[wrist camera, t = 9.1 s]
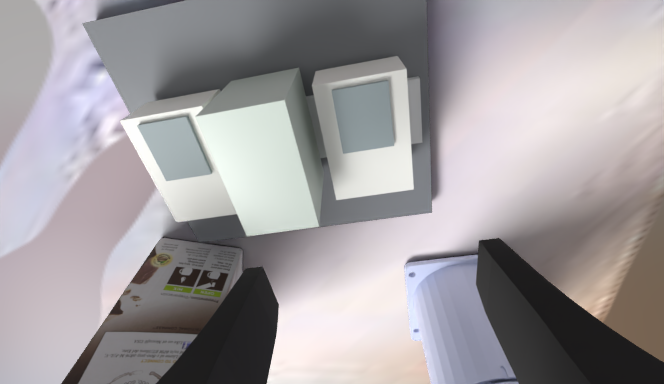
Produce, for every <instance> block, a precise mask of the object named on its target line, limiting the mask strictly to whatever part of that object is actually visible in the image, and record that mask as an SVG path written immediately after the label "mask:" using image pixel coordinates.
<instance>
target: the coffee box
mask: <svg viewBox="0 0 664 384" xmlns="http://www.w3.org/2000/svg"><path fill="white" fill-rule="evenodd" d="M242 259H243V251H242V249H239V248H233V247H226V246H218V245H212V244H204V243H197V242H190V241H183V240H176V239H169V238H162V239H160V240H159V241H158V243H157V244H156V246H155V247H154V249H153V250H152V252H151V253H150V255H149V256H148V257H147V259H146V260H145V262H144V263H143V265H142V266H141V268H140V269H139V271H138V272H137V274H136V275H135V276H134V278H133V279H132V281H131V282H130V284H129V285H128V286H127V288H126V289H125V291H124V292H123V294H122V295H121V297H120V298H119V300H118V301H117V303H116V304H115V306H114V307H113V309H112V310H111V312H110V313H109V315H108V316H107V318H106V319H105V320H104V322H103V323H102V325H101V326H100V328H99V329H98V331H97V332H96V334H95V335H94V337H93V338H92V340H91V341H90V343H89V344H88V346H87V347H86V349H85V350H84V352H83V353H82V354H81V356H80V357H79V359H78V360H77V362H76V363H75V365H74V366H73V368H72V369H71V371H70V372H69V373H68V375H67V376H66V378H65V379H64V381H63V382H62V384H156V383H157V382H158V381H159V380H160V379H161V377H162V376H163V375H164V374H165V373H166V372H167V371H168V370H169V369H170V368H171V366H172V365H173V364H174V363H175V362H176V361H177V360H178V358H179V357H180V356H181V355H182V354H183V352H184V351H185V350H186V349H187V348H188V346H189V345H190V344H191V343H192V341H193V340H194V339H195V338H196V336H197V335H198V334H199V333H200V331H201V330H202V329H203V327H204V326H205V325H206V323H207V322H208V321H209V319H210V318H211V317H212V315H213V314H214V313H215V311H216V310H217V308H218V307H219V306H220V304H221V303H222V302H223V300H224V299H225V297H226V296H227V294H228V293H229V292H230V290H231V289H232V287H233V286H234V284H235V283H236V282H237V280H238V279H239V277H240V276H241V275H242Z"/></svg>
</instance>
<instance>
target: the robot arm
mask: <svg viewBox="0 0 664 384" xmlns="http://www.w3.org/2000/svg"><path fill="white" fill-rule="evenodd" d="M404 270H405V281H406V292H407V302H408V313H409V324H410V335H411V339H413V340H415V341H418V340H422V345H423V350H424V354H425V359H426V363H427V368H428V372H429V377H430V381H431V384H664V362H662V361H660V360H659V359H657V358H655V357H654V356H652V355H650V354H649V353H647V352H646V351H644V350H642V349H641V348H639V347H638V346H636V345H635V344H633V343H632V342H630V341H629V340H627V339H626V338H624V337H622V336H621V335H620V334H618V333H617V332H615V331H613V330H612V329H611V328H609V327H608V326H606V325H605V324H604V323H602V322H601V321H599V320H598V319H597V318H595V317H594V316H592V315H591V314H590V313H588V312H587V311H586V310H584V309H583V308H582V307H580V306H579V305H578V304H576V303H575V302H574V301H573V300H571V299H570V298H569V297H567V296H566V295H565V294H564V293H562V292H561V291H560V290H559V289H557V288H556V287H555V286H554V285H553V284H551V283H550V282H549V281H548V280H546V279H545V278H544V277H543V276H542V275H540V274H539V273H538V272H537V271H536V270H535V269H533V268H532V267H531V266H530V265H529V264H528V263H527V262H525V261H524V260H523V259H522V258H521V257H520V256H519V255H518V254H516V253H515V252H514V251H513V250H512V249H511V248H510V247H509V246H508V245H506V244H505V243H504V242H503V241H502V240H501V239H499V238H497V239H489V240H480V241H479V248H478V255H469V256H460V257H451V258H442V259H434V260H425V261H416V262H409V263H407V264H406V265H405V266H404ZM412 272H413V273H412ZM278 307H279V304H278V302H277V300H276V297H275V295H274V293H273V290H272V288H271V285H270V283H269V281H268V278H267V276H266V273H265V271H264V269H263V267H255V268H247V269H245V270H244V272H243V273H242V275H241V276H240V277H239V279H238V280H237V282H236V283H235V284H234V286H233V287H232V289H231V290H230V292H229V293H228V294H227V296H226V297H225V299H224V300H223V302H222V303H221V304H220V306H219V307H218V308H217V310H216V311H215V313H214V314H213V315H212V317H211V318H210V319H209V321H208V322H207V323H206V325H205V326H204V327H203V329H202V330H201V331H200V333H199V334H198V335H197V336H196V338H195V339H194V340H193V341H192V343H191V344H190V345H189V346H188V348H187V349H186V350H185V351H184V352H183V354H182V355H181V356H180V357H179V358H178V360H177V361H176V362H175V363H174V364H173V365H172V366H171V368H170V369H169V370H168V371H167V372H166V373H165V374H164V375H163V376H162V377H161V379H160V380H159V381H158V382H157V383H156V384H266V383H267V378H268V374H269V369H270V364H271V359H272V354H273V349H274V344H275V339H276V332H277V322H278Z"/></svg>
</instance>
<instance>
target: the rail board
mask: <svg viewBox="0 0 664 384" xmlns="http://www.w3.org/2000/svg"><path fill="white" fill-rule="evenodd" d="M82 24H83V26H84V28H85V30H86V31H87V33H88V35H89V37H90V39H91V41H92V43H93V45H94V47H95V48H96V50H97V52H98V54H99V56H100V58H101V60H102V62H103V63H104V65H105V67H106V69H107V71H108V73H109V75H110V77H111V78H112V80H113V82H114V84H115V86H116V88H117V90H118V92H119V94H120V95H121V97H122V99H123V101H124V103H125V105H126V107H127V109H128V110H129V112H130V114H129V115H128V116H126V117H125V118H123V119H122V120H120V122H121V124H122V125H123V127H124V129H125V131H126V133H127V134H128V136H129V138H130V140H131V142H132V143H133V145H134V147H135V149H136V151H137V152H138V154H139V156H140V157H141V160H142V161H143V163H144V165H145V167H146V169H147V170H148V172H149V174H150V176H151V177H152V179H153V181H154V183H155V185H156V187H157V188H158V190H159V192H160V194H161V196H162V197H163V199H164V201H165V203H166V205H167V206H168V208H169V210H170V212H171V214H172V215H173V217H174V219H175V221H176V222H183V221H188V223H189V225H190V227H191V229H192V231H193V233H194V235H195V237H196V238H197V240H198V242H199V243H201V242H209V241H217V240H224V239H232V238H240V237H247V236H246V233H245V231H244V229H243V226H242V224H241V222H240V219H239V217H238V215H237V213H236V210H235V208H234V206H233V203H232V201H231V199H230V196H229V194H228V192H227V189H226V187H225V185H224V183H223V180H222V178H221V176H220V173H219V171H218V169H217V166H216V164H215V162H214V159H213V157H212V155H211V153H210V150H209V148H208V146H207V143H206V141H205V139H204V136H203V134H202V132H201V130H200V127H199V125H198V123H197V120H196V118H195V116H196V115H197V114H198V113H199V112H200V111H201V110H202V109H203V108H204V107H205V106H206V105H207V104H208V103H209V102H211V101H212V100H213V99H214V98H215V97H216V96H217V95H218V94H219V93H220V92H221V91H222V90H223V89H224V88H225V87H226V86H227V85H228V84H229V83H230V82H231V81H234V80H239V79H244V78H249V77H254V76H259V75H264V74H269V73H274V72H279V71H284V70H289V69H294V68H299V70H300V74H301V78H302V82H303V87H304V91H305V95H306V99H307V103H308V108H309V112H310V116H311V120H312V125H313V129H314V133H315V137H316V141H317V146H318V150H319V154H320V158H321V163H322V167H323V171H324V176H323V188H322V200H321V212H320V224H319V227H324V226H332V225H340V224H347V223H355V222H363V221H370V220H378V219H386V218H394V217H401V216H409V215H417V214H424V213H432V194H431V155H430V117H429V78H428V39H427V1H426V0H185V1H181V2H176V3H172V4H167V5H163V6H158V7H154V8H149V9H145V10H140V11H136V12H131V13H127V14H122V15H118V16H113V17H109V18H104V19H100V20H95V21H91V22H86V23H82ZM313 228H317V227H313ZM306 229H309V228H306ZM299 230H301V229H299ZM291 231H294V230H291ZM284 232H286V231H284ZM277 233H278V232H277ZM269 234H270V233H269ZM262 235H263V234H262Z"/></svg>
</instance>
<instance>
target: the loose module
mask: <svg viewBox="0 0 664 384" xmlns="http://www.w3.org/2000/svg"><path fill="white" fill-rule="evenodd" d="M195 118H196V120H197V123H198V125H199V127H200V130H201V132H202V134H203V136H204V139H205V141H206V143H207V146H208V148H209V150H210V153H211V155H212V157H213V159H214V162H215V164H216V166H217V169H218V171H219V173H220V176H221V178H222V180H223V183H224V185H225V187H226V189H227V192H228V194H229V196H230V199H231V201H232V203H233V206H234V208H235V210H236V213H237V215H238V217H239V219H240V222H241V224H242V226H243V229H244V231H245V233H246V236H247V237H248V236H255V235H262V234H269V233H277V232H284V231H291V230H299V229H306V228H313V227H319V224H320V212H321V200H322V188H323V176H324V171H323V167H322V163H321V158H320V154H319V150H318V146H317V141H316V137H315V133H314V129H313V125H312V120H311V116H310V112H309V108H308V103H307V99H306V95H305V91H304V87H303V82H302V78H301V74H300V70H299V68H294V69H289V70H284V71H279V72H274V73H269V74H264V75H259V76H254V77H249V78H244V79H239V80H234V81H231V82H230V83H229V84H228V85H227V86H226V87H225V88H224V89H223V90H222V91H221V92H220V93H219V94H218V95H217V96H216V97H215V98H214V99H213V100H212V101H211V102H209V103H208V104H207V105H206V106H205V107H204V108H203V109H202V110H201V111H200V112H199V113H198V114H197V115H196V116H195Z"/></svg>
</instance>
